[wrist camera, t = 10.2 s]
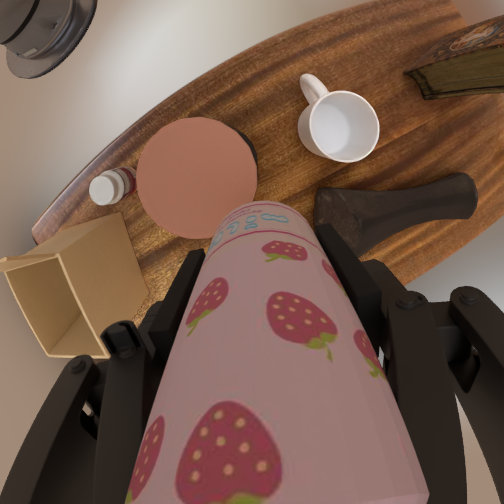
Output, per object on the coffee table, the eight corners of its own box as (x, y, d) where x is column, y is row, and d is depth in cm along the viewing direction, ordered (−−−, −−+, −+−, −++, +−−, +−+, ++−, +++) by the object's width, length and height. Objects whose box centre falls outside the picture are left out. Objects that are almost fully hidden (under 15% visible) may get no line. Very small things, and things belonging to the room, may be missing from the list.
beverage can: (278, 178, 14) (429, 556, 1) (332, 261, 16) (450, 533, 2) (192, 237, 16) (55, 532, 2) (251, 309, 18) (244, 577, 4)
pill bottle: (115, 196, 42) (89, 209, 34) (112, 167, 40) (84, 175, 32) (141, 194, 42) (118, 207, 34) (138, 164, 40) (114, 170, 32)
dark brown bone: (305, 231, 45) (437, 192, 45) (329, 283, 39) (470, 230, 38) (299, 176, 37) (449, 144, 37) (331, 230, 30) (490, 181, 30)
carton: (65, 228, 44) (2, 269, 28) (121, 211, 43) (58, 252, 26) (93, 300, 49) (48, 357, 33) (149, 292, 48) (109, 358, 32)
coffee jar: (249, 119, 37) (243, 103, 21) (264, 190, 41) (268, 227, 24) (177, 136, 38) (123, 137, 22) (193, 204, 42) (153, 249, 25)
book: (448, 33, 29) (544, 2, 5) (466, 57, 30) (566, 41, 7) (400, 74, 33) (513, 41, 10) (421, 101, 35) (540, 93, 11)
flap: (0, 272, 27) (-1, 269, 27) (55, 256, 26) (54, 252, 26) (-40, 278, 20) (-40, 274, 20) (7, 261, 18) (6, 256, 18)
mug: (272, 94, 36) (277, 79, 26) (322, 71, 34) (341, 52, 25) (313, 166, 40) (331, 175, 30) (361, 142, 38) (390, 145, 28)
